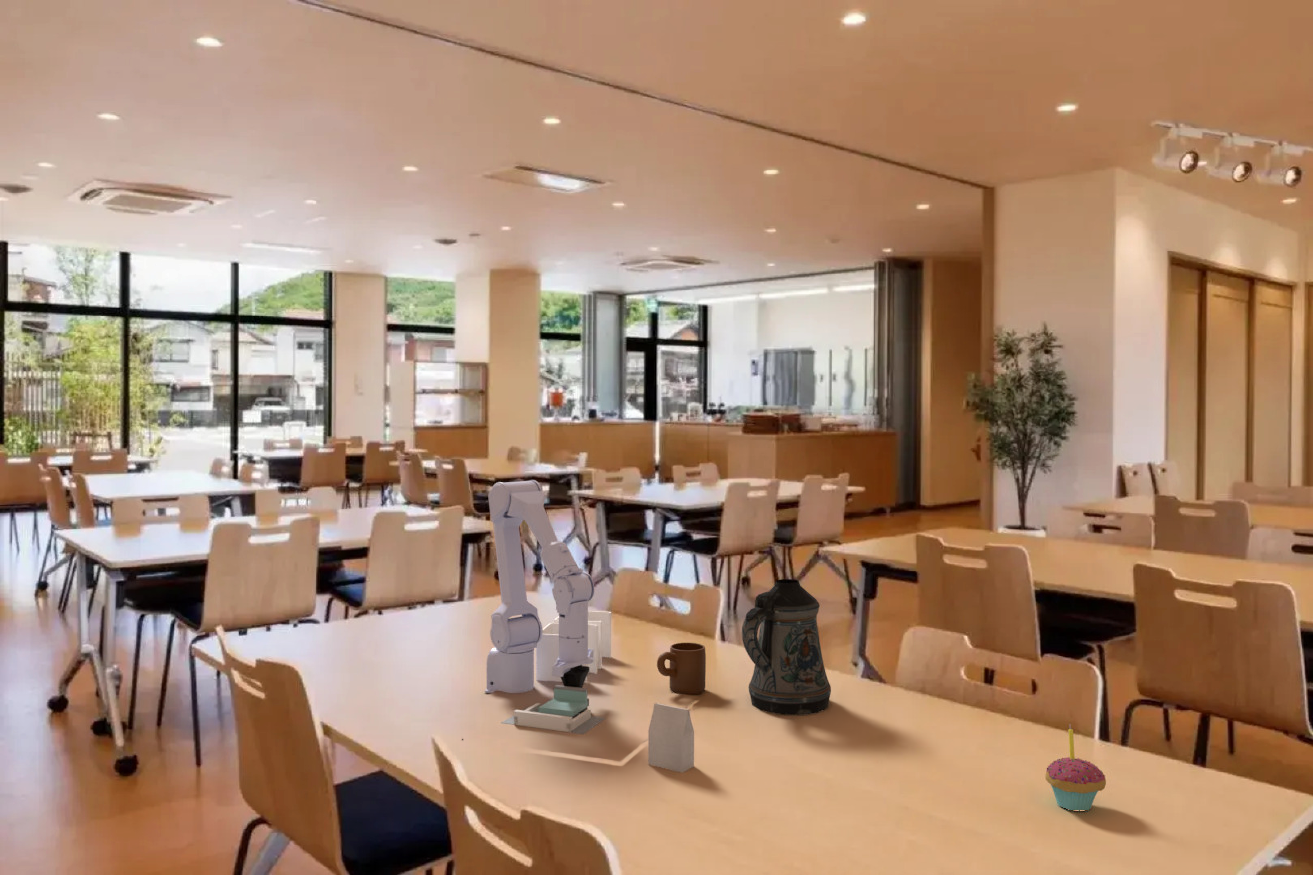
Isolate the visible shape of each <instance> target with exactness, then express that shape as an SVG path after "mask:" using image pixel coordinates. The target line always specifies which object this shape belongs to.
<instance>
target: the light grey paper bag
mask: <svg viewBox="0 0 1313 875" xmlns="http://www.w3.org/2000/svg"><path fill="white" fill-rule="evenodd" d="M647 731H648V732H647V733H648V737H647V738H648V740H647V741H648V748H647V749H648V753H647V754H648V755H647V756H648V763H647V764H650V765H649V766H652V765H654V766H653V767H656V766H657V768H660V767H661V769H664V768H667V769H666V770H668V769H670V770H669V771H673V772H677V773H681V772H683V773H685V772H687V771H688V770H690V769H691V768H693V767H695V730H694V727H693V722H692V718H691V714H690V709H688V708H687V709H686V708H684V707H683V708H681V707H678V706H672V705H667V704H663V703H658V702H655V703H654V704H653V709H652V714H651V719H650V722H649V726H648V730H647Z"/></svg>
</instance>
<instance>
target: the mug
mask: <svg viewBox="0 0 1313 875" xmlns="http://www.w3.org/2000/svg"><path fill="white" fill-rule="evenodd" d="M706 655H707V654H706V646H705V645H703V644H701V643H696V642H678V643H677V642H676V643H673V644H672V645H670V647H669V651H665V652H664V651H663V652H662V653H661V654H660V655H659V656H658V657H657V661H656V667H657V669H658V670H657V671H658V672H659V673H660V674H661V675H662V676H664V677H669V689H670V690H669V691H671V692H672V693H673V692H674V693H673V694H677V695H687V696H696V695H700V694H702V693H704V692H705V689H706V676H707V675H706V671H707V668H706V667H707V665H706V660H707V657H706ZM666 660H667V661H669V667H666V664H665V663H666Z"/></svg>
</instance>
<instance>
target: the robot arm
mask: <svg viewBox="0 0 1313 875" xmlns="http://www.w3.org/2000/svg"><path fill="white" fill-rule="evenodd" d="M541 486H542V485H541V484H540V483H539V482H538V481H537V480H535V479H529V480H523V481H510V482H501V481H498V482H497V481H496V483H494V484H493V486H492V487H491V489H490V490H489V492H488V494H487V497H488V505H489V506H488V507H489V515H490V521H491V522H492V526H493V536H494V544H495V554H496V562H497V563H496V564H497V572H498V580H499V581H498V583H499V588H500V589H499V591H500V599H501V604H500V605H499V606H498V607H497V608H496V609H495V610H494V612H492V613H491V627H490V632H489V633H490V640H491V643H492V645H493V647H492V648H491V649H490V650H489V652H488V654H487V658H486V689H485V690H484V693H487V694H492V693H494V692H496V691H499V692H504V693H508V694H509V693H510V694H519V693H527V692H530V691H532V690H534V688H535V677H534V676H535V673H534V672H535V668H534V667H535V658H534V657H535V649H536V648H537V643H538V642H539V641H540V640H541V637H542V632H543V624H542V622H541V619H540V617H539V613H538V612H539V610H538V608H537V606H535V605H533V604H532V603H531V602H529V601H528V598H527V588H526V579H525V569H524V561H523V554H522V552H523V551H522V544H521V533H520V526H521V524H522V523H523V521H524V522H525V523H526V525H527V526H528V528H529V529H530V531H531V533H532V534H533V536H534V537H535V539H536V540H537V542H538V543H539V545H540V547H541V548H542V549H541V552H540V559H541V562H542V563H543V565H544V567H545V569H546V571H547V573H548V575H549V577H550V580H552V582H553V588H551V593H552V597H553V599H554V601H555V610H556V613H557V614H558V616H559V657H558V659H557V661H556V663H555V665H554V666H552V676H557V677H560V678H561V680H562V682H561V683H562V684H563V686H570V687H579V688H584V684H585V683H584V681H585V679H586V676H587V677H588V674H589V667H588V666H582V665H583V664H591V663H592V662H593V649H588V611H589V601H591V600H592V599H593V597H594V595H595V583H594V581H593V577H592V576H591V574H589V573H588V572H586V571H584V569H583V568H581V567H579V566H578V564H577V561H576V560H575V558H574V556H573V554H572V552H571V551H570V548H569V547H568V545H567V543H565V542H564V541H559V540H558V537H557V535H556V533H555V531H554V528H553V526H552V523H551V522H550V519H549V517H548V514H547V512H546V509H545V507H544V505H545V498H546V497H545V496H546V495H545V493H544V492H543V488H542V487H541Z"/></svg>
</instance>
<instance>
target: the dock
mask: <svg viewBox="0 0 1313 875" xmlns="http://www.w3.org/2000/svg"><path fill="white" fill-rule="evenodd" d="M540 706H541V703H539V702H536V703H535V704H532V705H531V706H529V707H525V708H524V709H515V710H513V715H512V716H510V717H509V718H507V719H505V720H503V721H502V722H501V724H506V725H508V724H509V725H514V726H521V727H528V728H535V729H536V728H537V729H540V730H541V729H542V730H549V731H550V730H551V731H556V732H564V733H571V734H578V735H584V734H586V733H588V732H589V731H590V730H591V729H593V728H594V727H596V726H598V725H599V724H600V723H602V722H603V721H605V719H606V717H601V716H595V715H594V716H593V715H592V710H591V709H587V710H586V711H584V712H581V713H579V714H576V715H574V716H575V718H574V719H572V717H568V716H564V715H555V714H546V713H539V707H540Z"/></svg>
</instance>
